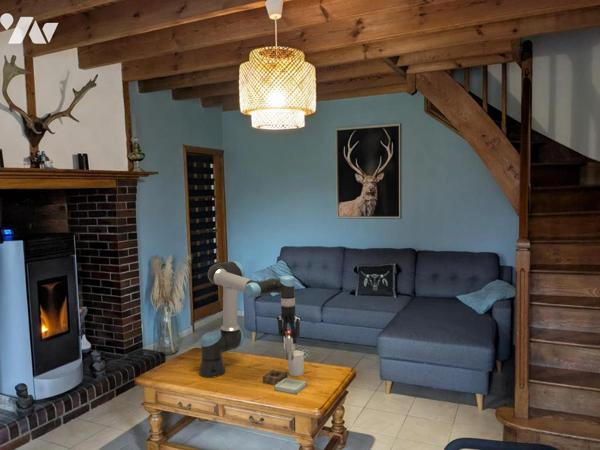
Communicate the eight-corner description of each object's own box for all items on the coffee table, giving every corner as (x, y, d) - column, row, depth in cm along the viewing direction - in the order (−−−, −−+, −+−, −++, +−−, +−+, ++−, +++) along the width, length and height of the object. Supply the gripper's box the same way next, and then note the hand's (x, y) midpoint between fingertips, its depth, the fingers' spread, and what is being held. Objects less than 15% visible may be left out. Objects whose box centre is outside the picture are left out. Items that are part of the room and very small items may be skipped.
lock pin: (283, 360, 244) (282, 331, 243) (288, 357, 248) (287, 328, 247) (291, 361, 241) (290, 332, 241) (296, 358, 246) (295, 329, 245)
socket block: (262, 383, 254) (262, 376, 254) (272, 376, 263) (272, 370, 262) (278, 386, 249) (278, 378, 249) (287, 379, 258) (287, 372, 258)
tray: (274, 390, 243) (274, 385, 243) (285, 382, 254) (285, 377, 254) (295, 394, 237) (295, 390, 237) (306, 386, 248) (306, 381, 248)
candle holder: (302, 377, 261) (302, 356, 260) (286, 376, 263) (285, 355, 262) (306, 370, 271) (305, 350, 270) (289, 370, 273) (289, 350, 272)
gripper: (270, 305, 244) (272, 349, 245) (298, 308, 236) (300, 353, 237) (277, 302, 251) (279, 345, 252) (305, 305, 243) (307, 348, 244)
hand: (289, 348), depth 244 cm, fingers closed on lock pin, 4 cm apart
